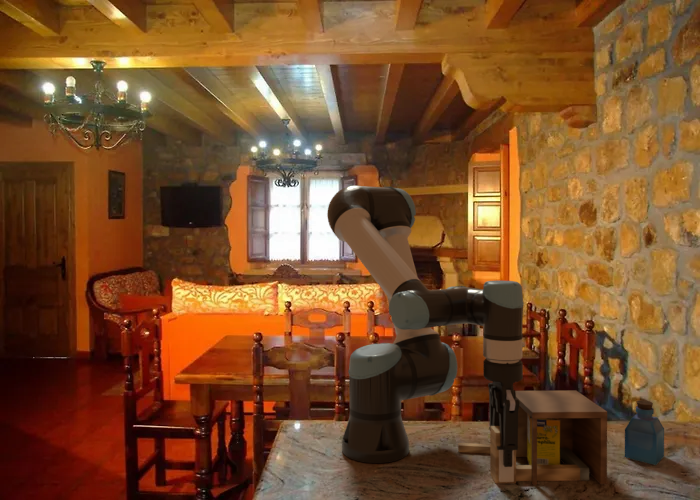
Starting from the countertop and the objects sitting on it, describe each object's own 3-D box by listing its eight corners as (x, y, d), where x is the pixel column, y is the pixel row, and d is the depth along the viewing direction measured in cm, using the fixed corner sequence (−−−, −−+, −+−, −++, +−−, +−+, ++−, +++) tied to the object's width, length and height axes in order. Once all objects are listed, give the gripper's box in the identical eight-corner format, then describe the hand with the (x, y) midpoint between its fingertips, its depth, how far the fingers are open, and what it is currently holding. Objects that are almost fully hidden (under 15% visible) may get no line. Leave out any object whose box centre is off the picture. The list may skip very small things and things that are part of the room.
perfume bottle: (624, 457, 122) (624, 402, 122) (633, 449, 126) (633, 396, 126) (656, 465, 118) (656, 408, 117) (664, 456, 122) (664, 402, 122)
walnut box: (532, 484, 109) (532, 412, 108) (510, 454, 124) (510, 390, 123) (606, 484, 109) (607, 411, 108) (575, 454, 124) (575, 390, 123)
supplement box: (560, 473, 114) (560, 420, 113) (529, 471, 115) (530, 418, 115) (556, 462, 120) (556, 411, 119) (526, 460, 121) (526, 409, 121)
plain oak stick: (458, 453, 126) (458, 445, 126) (458, 450, 127) (458, 442, 127) (513, 456, 124) (513, 448, 124) (512, 453, 125) (512, 445, 125)
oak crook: (495, 483, 109) (495, 432, 109) (481, 459, 121) (481, 413, 121) (591, 482, 109) (591, 432, 109) (567, 458, 121) (567, 412, 121)
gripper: (536, 369, 102) (536, 495, 103) (509, 350, 119) (509, 458, 120) (495, 369, 102) (495, 496, 103) (474, 350, 119) (474, 459, 120)
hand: (502, 475), depth 111 cm, fingers closed on oak crook, 4 cm apart
